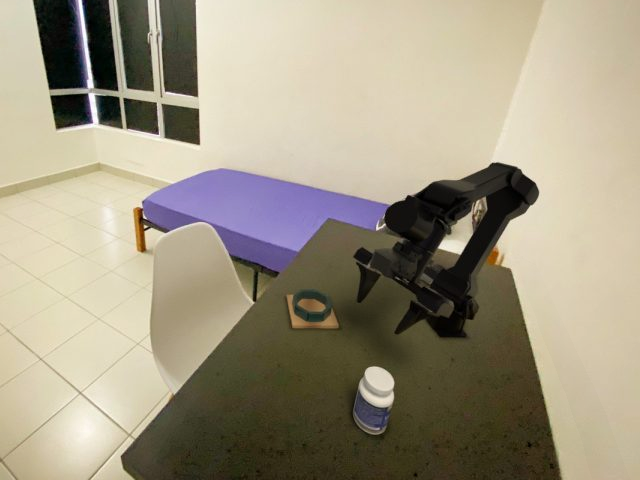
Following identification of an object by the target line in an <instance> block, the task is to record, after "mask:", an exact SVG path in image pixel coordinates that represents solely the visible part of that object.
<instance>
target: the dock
mask: <svg viewBox="0 0 640 480" xmlns="http://www.w3.org/2000/svg"><path fill="white" fill-rule="evenodd" d="M285 298H286V303H287V309H288V313H289V318H290V324H291V329H339V328H340V327H339V326H340V325H339V321H338V319H337V316H336V314H335V311H334V309H333V305H332V302H331V299H330V296H329V295H328V294H325V293H323V292H322V291H320V290H318V289H311V288H310V289H309V288H307V289H305V288H303V289H300V290H298V291H297V292H296V293H294V294H286V296H285Z"/></svg>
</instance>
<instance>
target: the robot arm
mask: <svg viewBox="0 0 640 480" xmlns="http://www.w3.org/2000/svg"><path fill="white" fill-rule="evenodd" d="M539 196H540V190H539V187H538V184H537V183H536V181H534V180H533V179H531V178H530V177H529V176H528V175H526V174H524V172H523V170H522V168H519V167H518V166H516V165H511V164H508V163H504V162H499V161H496V162H494V161H493V162H491V163H490V164H489V165H488V166H487V167H484V168H483V169H480V170H478V171H476V172H474V173H471V174H470V175H467V176H465V177H462V178H460V179H440V180H435V181H432V182H431V183H429V184H427V186H425V187H424V188H422V189H421V190H420V191H418V192H417V193H416V194H414V195H410V194H407V195H406V197H405V198H404V200H398V201H395V202H394V203H391V205H390V206H388V207H387V208H386V210H385V213H384V216H383V220H384V224H385V226H386V228H387V229H389V231H391V232H393V233H394V234H396V235H398V236H400V237H402V238H403V239H402V240H401V242H400V241H399V240H398V241H396V242H395V243H394V245H393V246H392V247H391V248H389V247H383V248H375V249H373V250H374V251H372V250H370V249H368V248H366V247H364V246H361V247H359V248H357V249H356V250H355V251H354V253H353V255H352V258H353V259H355V260H356V261H355V265H356V266H357V268H358V269H359V285H358V289H357V290H358V291H357V296H356V303H358V304H362V303H363V302H364V300H365V299H366V298H367V296H369V294H370V292H372V289H373V288H374V286H375V285H376V283H377V282H378V281H379V279H380V277H381V276H383V277H385V278H386V279H387V278H388V279H391V280H393V281H394V282H395V283H397V284H399V285H400V286H402V287H403V288H404V289H406V290H407V291H409V292H410V293H411V294H414V295H415V297H416V300H413V299H410V303H409V308H408V309H407V310H406V313H405V314H404V315H403V316H402V318H401V320H400V321H399V322H398V324H397V326H396V328H395V330H394V335H396V336H397V335H398V336H399V335H400V334H402V333H403V332H405V331H407V330H409V328H411V327H413V326H414V325H416V324H417V323H419V322H421V321H423V320H425V319H426V320H427V321H428V322H429V324H430V325H431V327H432V328H433V329H434V331H435V332H436V334H438V336H439V337H441V338H466V337H467V335H468V334H467V333H466V332H465V331H464V327H465V323H466V321H467V320H470V321H473V320H475V317H476V314H478V311H479V309H480V305H479V303H478V302H477V300H476V296H477V294H478V292H479V289H478V281H477V277H478V275H479V273H480V272H481V270H482V268H483V267H484V265H485V264H486V262H487V260H488V258H489V257H490V256H491V254H492V252H493V251H494V249H495V247H496V245H497V244H498V242H499V240H500V239H501V237H502V235H503V234H504V232H505V230H506V228H507V227H508V225H509V224H510V222H511V221H512V220H515V219H517V218H518V217H521V216H523V215H525V214H526V213H527V211H528V210H529V208H531V206H533V205H535V203H536V202H537V200H538V199H539ZM483 198H485V205H486V211H485V212H484V214H483V216H482V218H481V219H480V221H479V222H478V224H477V226H476V227H475V229H474V231H473V232H472V235H471V236H470V238H469V240H468V241H467V242H466V245H465V246H464V249H463V250H462V251H461V253H460V255H459V256H458V258H457V260H456V262H455V263H454V265H452V266H450V267H448V268H447V269H444V268H443V269H442V270H440V272H439V274H438V276H437V277H436V278H435V279H434V280H433V281H432V283H431V284H429V285H430V286H429V287H428V286H425V285H424V286H422V285H421V283H422V282H423V280H422V279H421V278H420V277H421V275H422V274H423V272H424V270H425V269H426V267H429V266H433V264H434V262H435V260H434V259H433V257H434V255H435V254H436V252H437V250H438V249H439V247H440V246H441V244H442V242H443V240H444V239H445V238H446V236H447V235H448V236H451V235H452V227H451V224H450V223H453V222H458V221H460V220H462V219H464V218H465V217H467V216H469V214H470V213H471V212H472V211H473V206H474V204H475V203H476V202H478V201H479V200H482V199H483Z"/></svg>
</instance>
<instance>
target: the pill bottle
mask: <svg viewBox="0 0 640 480" xmlns="http://www.w3.org/2000/svg"><path fill="white" fill-rule="evenodd" d="M394 388H395V380H394V377H393V375H392V374H391V373H390V372H389V371H387V370H386V369H384V368H382V367H380V366H369V367H368V368H366V369H365V371H364V374H363V377H362V378H361V379H360V381H359V383H358V388H357V392H356V396H355V402H354V405H353V410H352V416H353V420H354V422H355V423H356V425H357V427H358V428H359V429H360V430H362V431H363V432H365V433H367V434H368V435H375V436H376V435H380V434H383V433H384V432H386V429H387V427H388V423H389V419H390V416H391V412H392V409H393V404H394V401H395V392H394Z"/></svg>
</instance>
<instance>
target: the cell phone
mask: <svg viewBox="0 0 640 480" xmlns="http://www.w3.org/2000/svg"><path fill="white" fill-rule="evenodd" d="M443 268H444V269H448V268H447V267H446V266H444V265H441V264H434V265H433V264H432V265H428V266H427V267H426V269H425V270H424V272H423V274H422V275H421V277H420V279H422V281H423V282H424V283H426V284H428V285H431V283H432V281H433V280H434V279H435V278H436V277H437V276H438V274H439V272H440V270H442V269H443Z"/></svg>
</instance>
